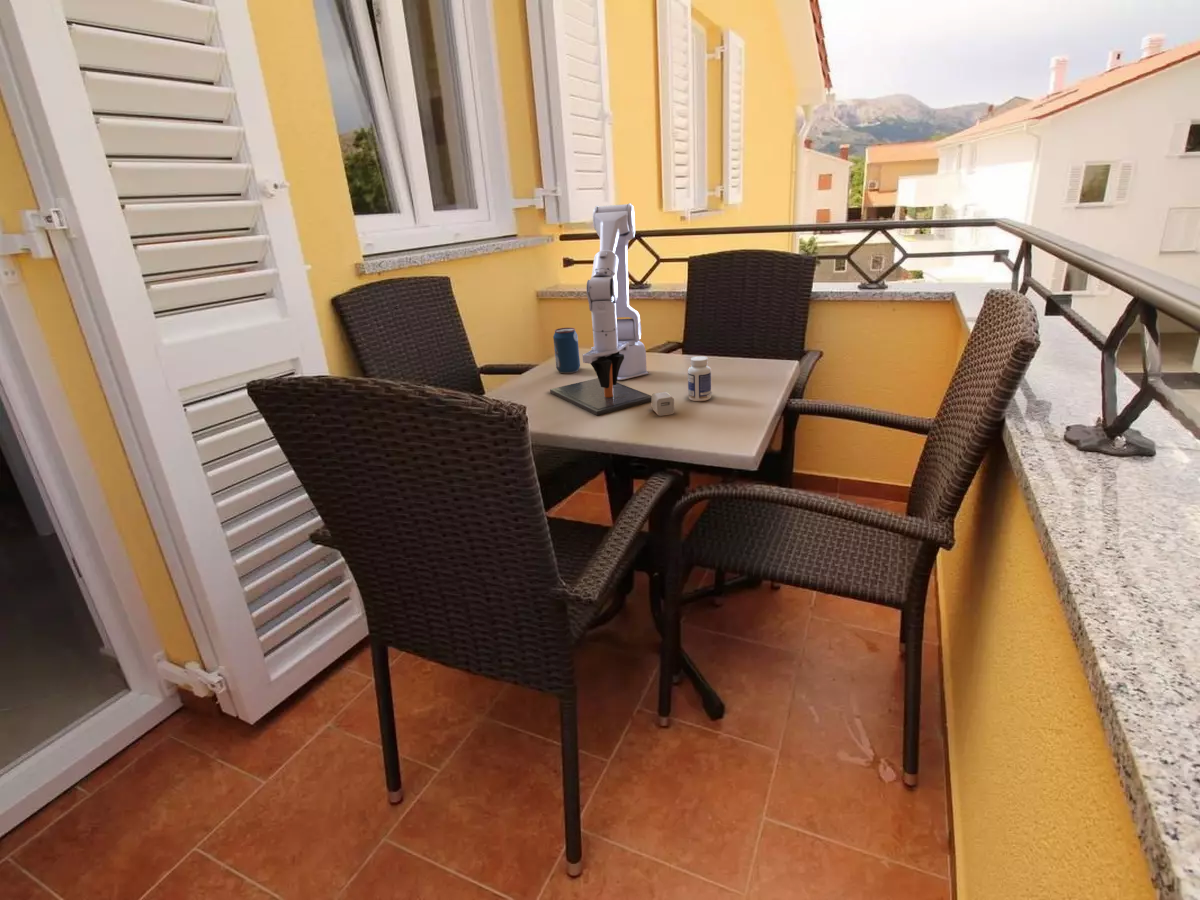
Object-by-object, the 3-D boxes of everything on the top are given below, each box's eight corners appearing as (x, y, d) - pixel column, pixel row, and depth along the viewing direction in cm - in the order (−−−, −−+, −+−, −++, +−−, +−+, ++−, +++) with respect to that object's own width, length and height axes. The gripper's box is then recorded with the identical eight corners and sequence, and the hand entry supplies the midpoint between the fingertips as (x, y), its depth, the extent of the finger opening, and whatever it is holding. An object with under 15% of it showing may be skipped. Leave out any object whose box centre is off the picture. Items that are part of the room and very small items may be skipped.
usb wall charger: (657, 416, 140) (656, 399, 138) (648, 407, 146) (648, 390, 144) (674, 413, 140) (673, 396, 139) (665, 404, 147) (664, 388, 145)
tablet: (602, 380, 169) (602, 376, 169) (654, 400, 150) (654, 396, 150) (550, 392, 162) (549, 388, 162) (597, 415, 143) (596, 411, 142)
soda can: (585, 368, 182) (581, 327, 178) (571, 374, 177) (567, 332, 173) (565, 366, 186) (561, 326, 181) (551, 372, 181) (547, 331, 176)
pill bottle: (712, 395, 151) (712, 355, 147) (709, 402, 146) (708, 361, 142) (690, 394, 152) (690, 355, 149) (686, 401, 148) (685, 361, 144)
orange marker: (608, 394, 154) (606, 358, 150) (615, 395, 152) (614, 359, 149) (602, 396, 152) (600, 360, 148) (609, 398, 151) (607, 361, 147)
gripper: (611, 322, 153) (615, 376, 158) (571, 334, 143) (576, 391, 149) (634, 324, 149) (637, 379, 154) (593, 337, 139) (598, 395, 144)
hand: (608, 385), depth 151 cm, fingers closed on orange marker, 2 cm apart
